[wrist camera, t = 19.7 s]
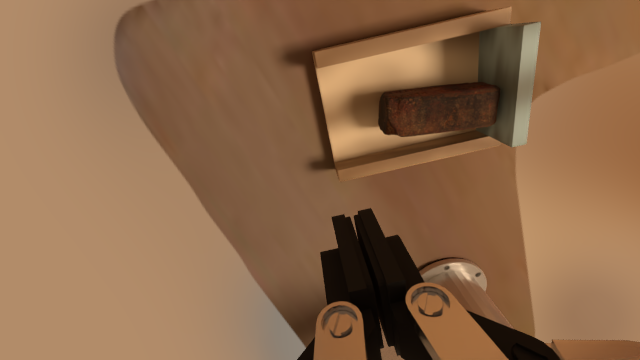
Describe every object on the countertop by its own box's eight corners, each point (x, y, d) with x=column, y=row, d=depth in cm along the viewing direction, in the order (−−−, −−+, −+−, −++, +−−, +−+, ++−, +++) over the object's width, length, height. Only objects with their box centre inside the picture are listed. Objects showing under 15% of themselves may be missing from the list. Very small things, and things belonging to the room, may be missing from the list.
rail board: (481, 135, 35) (524, 157, 28) (335, 169, 35) (345, 197, 28) (486, 10, 29) (543, 1, 22) (311, 51, 29) (317, 53, 22)
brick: (474, 79, 30) (504, 84, 26) (470, 116, 32) (496, 127, 28) (376, 91, 30) (389, 99, 26) (376, 128, 32) (389, 141, 28)
